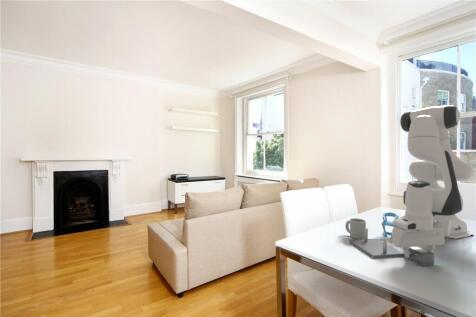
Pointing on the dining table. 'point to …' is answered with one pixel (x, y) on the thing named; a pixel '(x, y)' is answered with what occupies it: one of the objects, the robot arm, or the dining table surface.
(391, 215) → the chair
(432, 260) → the block
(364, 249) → the grey peg base
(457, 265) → the dining table surface
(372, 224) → the dining table surface
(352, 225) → the cup
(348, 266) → the dining table surface
